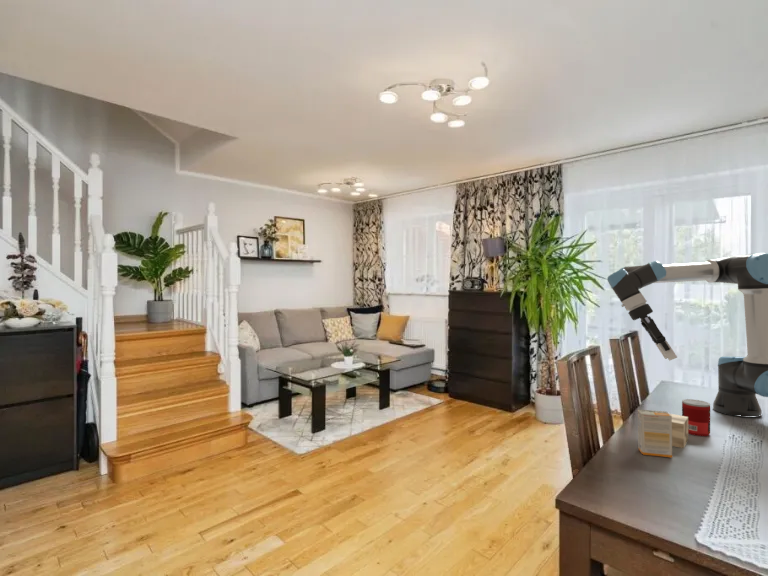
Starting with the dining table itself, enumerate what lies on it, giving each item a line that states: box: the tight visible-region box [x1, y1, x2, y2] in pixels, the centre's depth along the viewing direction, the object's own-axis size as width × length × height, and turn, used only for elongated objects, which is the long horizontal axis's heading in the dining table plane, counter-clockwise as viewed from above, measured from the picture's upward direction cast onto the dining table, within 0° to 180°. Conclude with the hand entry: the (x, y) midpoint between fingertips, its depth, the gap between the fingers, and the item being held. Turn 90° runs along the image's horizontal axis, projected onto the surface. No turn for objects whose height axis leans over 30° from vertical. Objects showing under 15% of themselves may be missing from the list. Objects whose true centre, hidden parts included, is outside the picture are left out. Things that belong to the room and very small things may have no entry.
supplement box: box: [637, 409, 673, 459], centre depth 128 cm, size 8×5×13 cm, turn 71°
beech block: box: [669, 413, 689, 449], centre depth 139 cm, size 10×10×8 cm
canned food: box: [681, 398, 711, 437], centre depth 145 cm, size 8×8×11 cm
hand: (671, 358), depth 149 cm, fingers open, 13 cm apart
